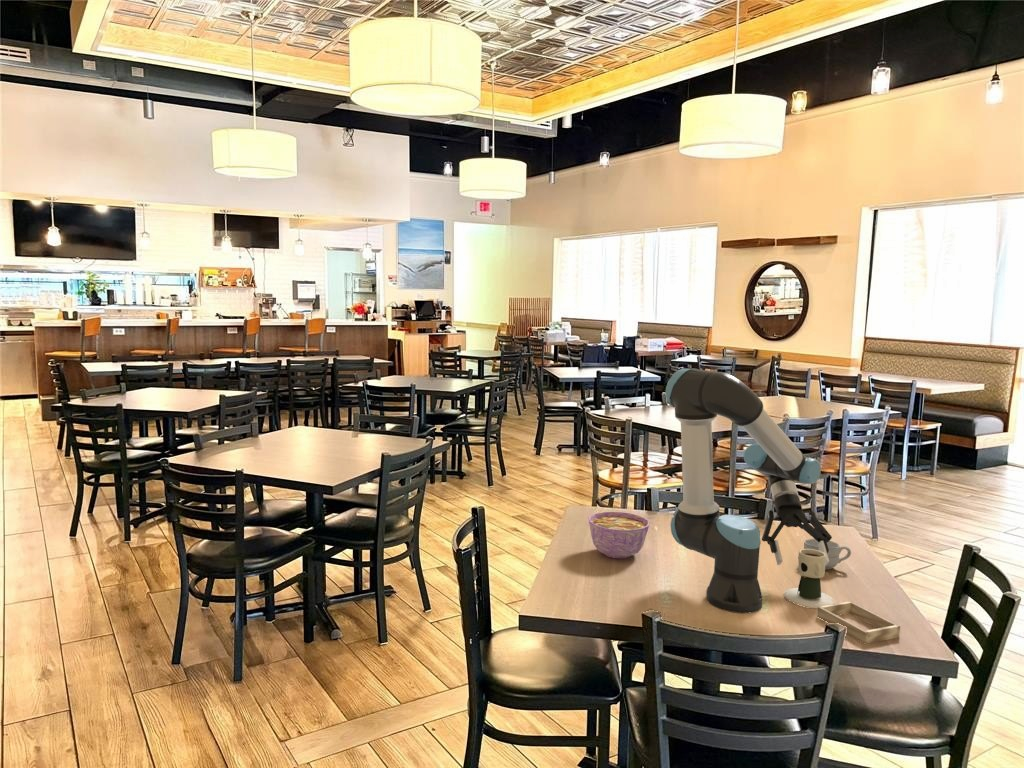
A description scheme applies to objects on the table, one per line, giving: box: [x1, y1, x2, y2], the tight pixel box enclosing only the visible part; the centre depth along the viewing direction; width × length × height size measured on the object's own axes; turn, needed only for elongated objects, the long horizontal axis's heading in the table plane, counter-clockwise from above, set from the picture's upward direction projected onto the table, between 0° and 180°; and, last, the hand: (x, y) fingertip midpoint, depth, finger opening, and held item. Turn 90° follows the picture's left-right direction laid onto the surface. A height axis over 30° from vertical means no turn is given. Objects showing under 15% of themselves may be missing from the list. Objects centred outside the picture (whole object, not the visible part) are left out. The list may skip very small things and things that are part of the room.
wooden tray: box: [816, 600, 901, 644], centre depth 184 cm, size 12×16×3 cm
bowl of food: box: [588, 511, 650, 559], centre depth 232 cm, size 20×20×12 cm
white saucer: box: [783, 587, 835, 610], centre depth 201 cm, size 13×13×1 cm
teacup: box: [803, 538, 852, 571], centre depth 226 cm, size 14×11×8 cm
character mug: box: [797, 548, 826, 599], centre depth 200 cm, size 11×7×13 cm, turn 0°
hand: (803, 563), depth 206 cm, fingers open, 13 cm apart
